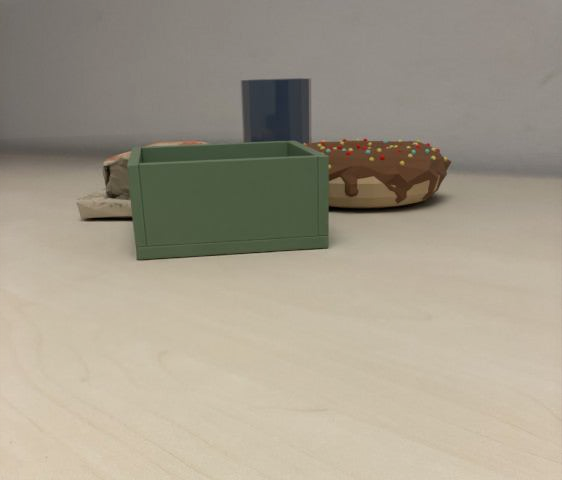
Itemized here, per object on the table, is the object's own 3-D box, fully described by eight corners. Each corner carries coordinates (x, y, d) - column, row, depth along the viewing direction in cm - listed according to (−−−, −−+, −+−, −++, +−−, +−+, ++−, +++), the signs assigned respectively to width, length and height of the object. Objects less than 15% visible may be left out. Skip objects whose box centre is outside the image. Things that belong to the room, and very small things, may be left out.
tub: (136, 259, 44) (126, 164, 42) (139, 224, 55) (131, 147, 52) (328, 247, 46) (328, 155, 44) (296, 216, 56) (295, 140, 54)
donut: (283, 216, 56) (282, 151, 54) (291, 189, 69) (290, 136, 67) (463, 214, 56) (468, 147, 54) (438, 187, 68) (442, 132, 66)
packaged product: (135, 138, 71) (232, 136, 70) (139, 187, 73) (234, 186, 72) (68, 158, 55) (194, 157, 54) (76, 221, 56) (198, 220, 56)
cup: (249, 187, 71) (245, 80, 67) (241, 178, 77) (237, 79, 73) (317, 184, 72) (317, 78, 68) (304, 175, 78) (303, 78, 74)
